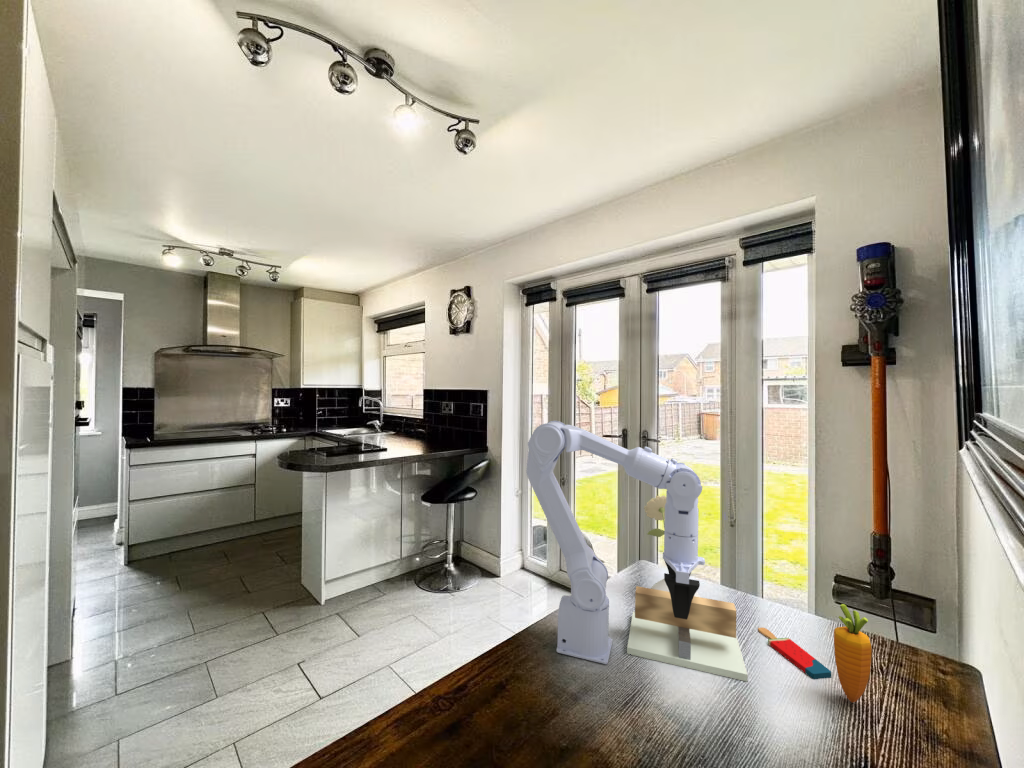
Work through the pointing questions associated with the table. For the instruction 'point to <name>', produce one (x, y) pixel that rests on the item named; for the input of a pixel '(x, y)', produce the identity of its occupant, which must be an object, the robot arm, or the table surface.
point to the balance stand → (686, 648)
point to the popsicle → (797, 656)
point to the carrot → (852, 655)
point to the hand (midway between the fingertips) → (679, 606)
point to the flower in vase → (657, 511)
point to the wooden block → (701, 616)
